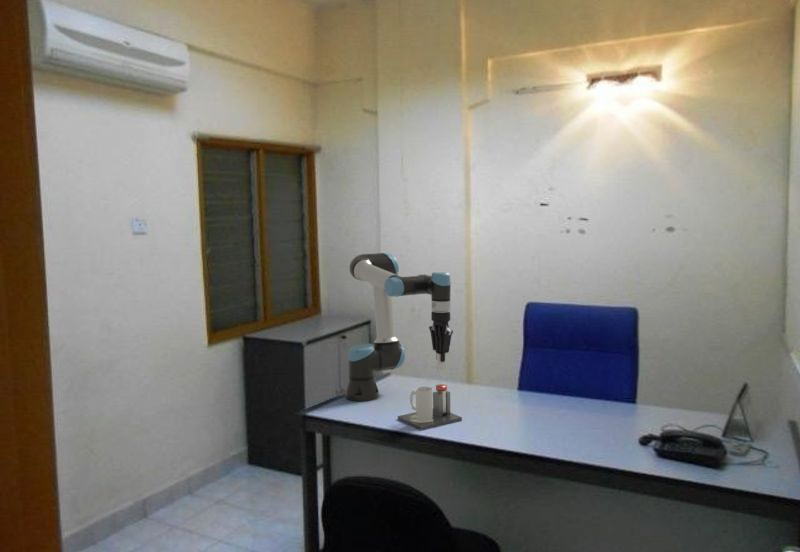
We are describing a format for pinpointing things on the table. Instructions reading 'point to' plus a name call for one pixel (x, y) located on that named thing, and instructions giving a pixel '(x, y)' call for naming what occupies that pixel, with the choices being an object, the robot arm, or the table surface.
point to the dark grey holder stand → (437, 417)
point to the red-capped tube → (442, 390)
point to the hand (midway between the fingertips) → (440, 369)
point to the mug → (423, 403)
